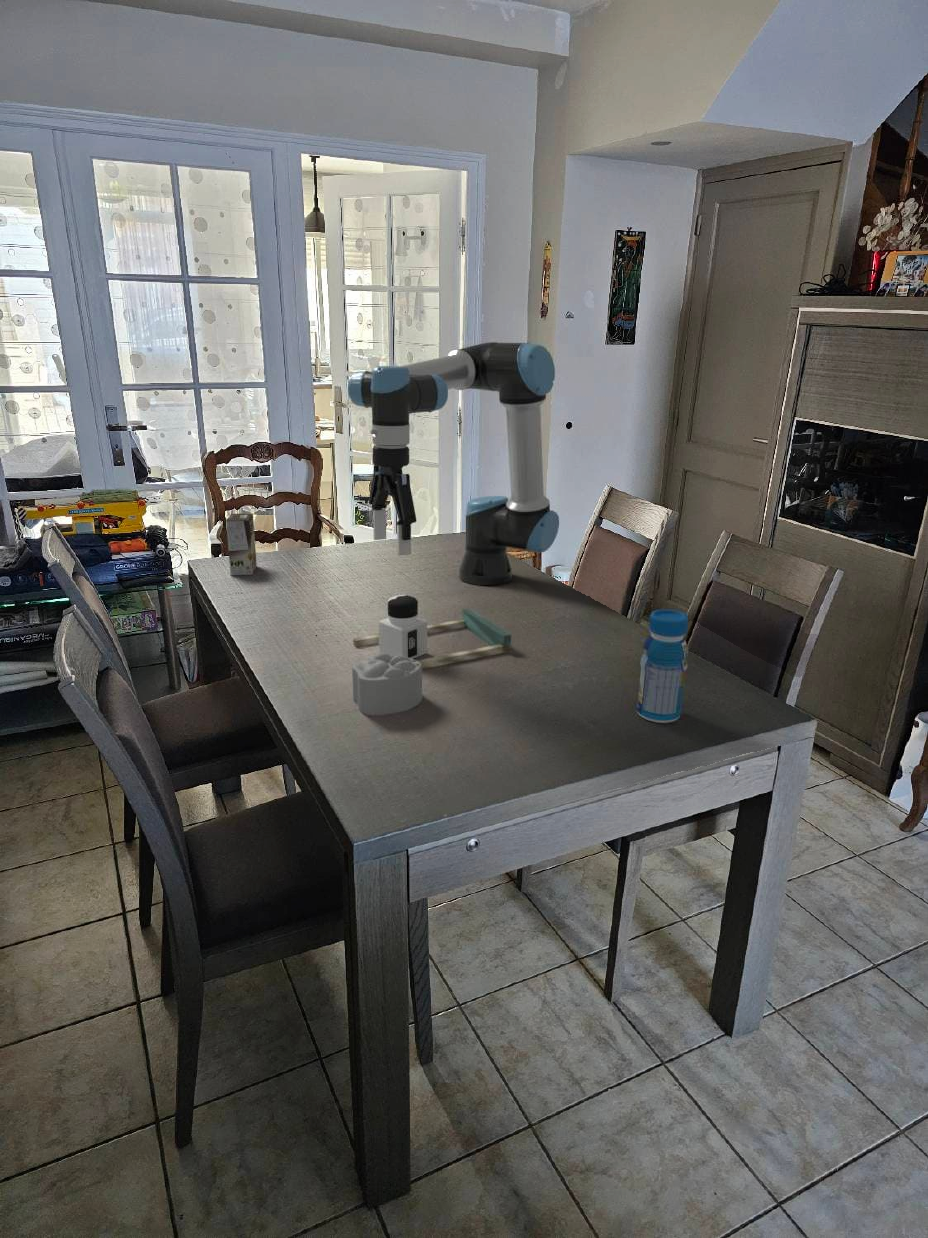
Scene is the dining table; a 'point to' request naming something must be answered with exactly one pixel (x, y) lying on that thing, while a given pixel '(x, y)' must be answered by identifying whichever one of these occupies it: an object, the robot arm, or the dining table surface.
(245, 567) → the coffee box
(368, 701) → the lumpy-topped squat cylinder
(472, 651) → the beige u-shaped frame
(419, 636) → the container
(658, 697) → the beverage bottle
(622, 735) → the dining table surface
